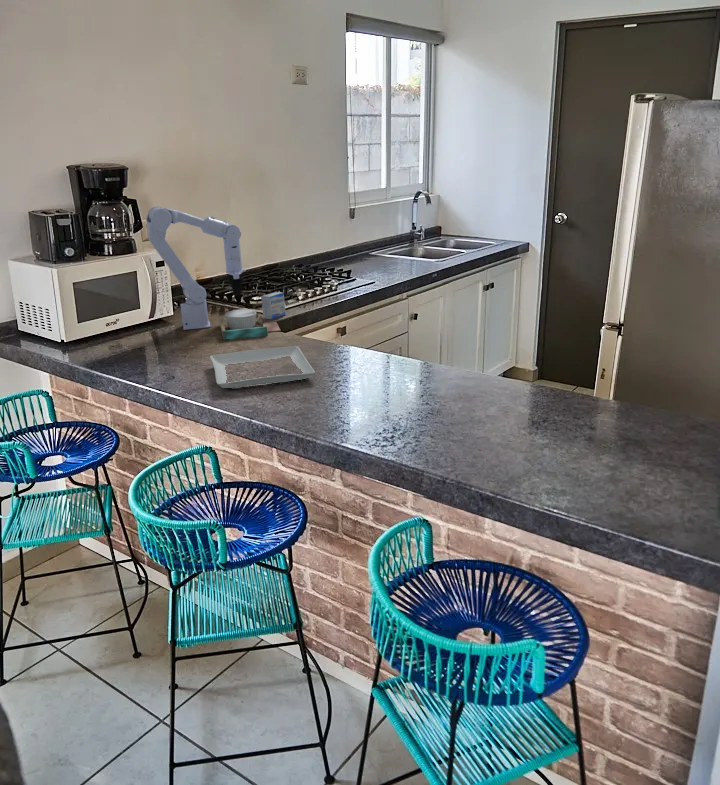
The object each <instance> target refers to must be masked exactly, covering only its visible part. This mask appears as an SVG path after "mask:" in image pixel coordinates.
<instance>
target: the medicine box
mask: <svg viewBox="0 0 720 785" xmlns="http://www.w3.org/2000/svg"><path fill="white" fill-rule="evenodd" d="M260 300H261V309H262V310H261V311H262V319H266V320H274V319H277V318H281V317H283V316H285V315H286V305H285V294H284V292H282V291H280V292H279V291H274V292H271V293H267V294H264V295H261V296H260Z"/></svg>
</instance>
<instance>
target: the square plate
mask: <svg viewBox="0 0 720 785" xmlns="http://www.w3.org/2000/svg"><path fill="white" fill-rule="evenodd" d="M286 356H290V357H291V359H292V361H293V362H294V363H295V364H296V366H297V367H298V368H299V369H301V371H302V372H303V373H302V374H288V375H276V376H267V377H259V378H253V379H246V380H240V381H234V382H228V383H226V380H227V376H226V375H227V374H226V370H225V367H226V366H225V365H228V364H237V363H245V362H253V361H264V360H270V359H277V358H281V357H286ZM209 360H210V362H211V364H212V366H213V370H214V376H215V381H216V384H217V385H218V386H219V387H221V389H224V388H231V387H240V386H247V385H256V384H266V383H274V382H282V381H291V380H298V379H306V378H309V379H311V378H312V377H313V376H315V374H316V371H315V370H314V368H313V366H312V365H311V364H310V363H309V361H308V360H307V358H306V357H305V355H304V353H303V351H302V349H301V348H300V347H299V346H297V345H291V346H282V347H279V346H278V347H269V348H268V347H267V348H257V349H251V350H241V351H235V352H234V351H233V352H228V353H227V352H226V353H220V354H212V355H210V356H209ZM306 380H307V379H306Z"/></svg>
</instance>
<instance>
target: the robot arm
mask: <svg viewBox="0 0 720 785" xmlns="http://www.w3.org/2000/svg"><path fill="white" fill-rule="evenodd" d="M145 220H146V224H147V235H148V236H147V238H148V242H149V243H151V245H152V247H153V248H154V249H155V251H156V252H157V253H158V254H159V256H160V258H161V259H162V260H163V261H164V263H165V264H166V266H167V267H168V269H169V270H170V271H171V273H172V274H173V275H174V277H175V278H176V280H177V281H178V283H179V285H180V286H181V288H182V292H183V293H182V294H183V295H184V297H186V299H185V302H184V303H180V314H181V324H182V327H183V331H186V330H198V329H205V328H206V329H207V328H211V322H210V320H209V313H208V306H207V304H208V303H207V295H208V294H207V291H206V288H205V287H203V286H202V285H200V284H199V283H198V282H197V280H196V279H195V278H194V277H193V276H192V275H191V273H190V272H189V271H188V270H187V267H186V266H185V265H184V263H183V262H182V261H181V260H180V258H179V257H178V256H177V253H176V252H175V251H174V250H173V248H172V247H171V245H170V244H169V242H168V241H167V239H166V234H167V232H168V231H167V230H168V229H169V227H170V226H171V224H173V225H175V224H178V223H184V224H186V225H189V226H194V227H197V228H200V229H201V231H202V233H204V234H207V235H210V236H213V237H218V238H220V239H221V238H222V240H223V248H224V249H223V250H224V251H223V252H224V259H225V268H226V270H225V273H226V274H227V275H226V277H227V280H228V282H229V283H230V285H231V290H232V293H233V296H234V297H241V294H242V293H241V292H242V284H243V281H244V276H243V273H244V272H246V271H247V269H246V268H243V262H242V254H241V244H240V238H241V236H242V232H241V230H240V228H239V227H238V226H237V225H235V224H231V223H230V222H229V221H226V220H224V221H222V220H220V219H216V217H215V216H213V215H211V216H206V217H205V218H200V217H198V216H195V215H191V214H190V213H189V214H188V213H186V212H183V211H180V210H177V209H173V208H166V207H164V208H162V207H161V206H152V207H151V208H150V209H149V210H148V213H147V216H146V219H145Z"/></svg>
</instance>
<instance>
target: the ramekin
mask: <svg viewBox="0 0 720 785" xmlns="http://www.w3.org/2000/svg"><path fill="white" fill-rule="evenodd" d="M224 318H225V319H226V322H227V326H228V328H229V330H236V329H246V328H255V326H256V321H257V320H256V318H257V311H256V310H254V309H251V308H250V309H248V308H246V309H245V308H241V309H233V310H229V311H227V312H225V314H224Z"/></svg>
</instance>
